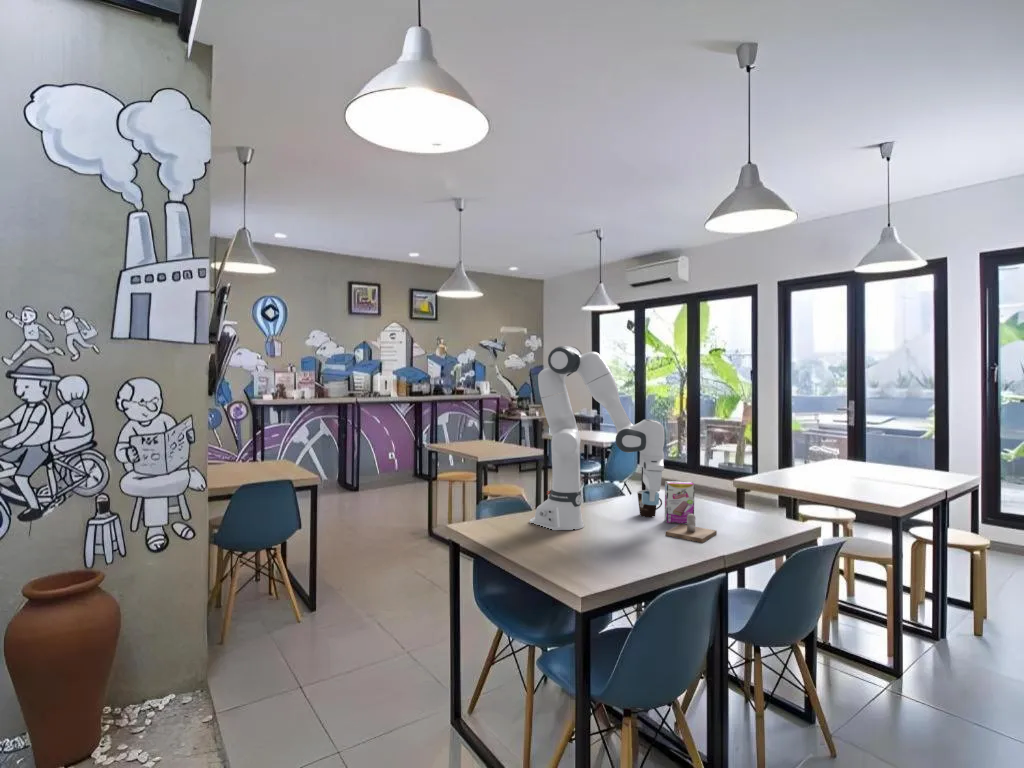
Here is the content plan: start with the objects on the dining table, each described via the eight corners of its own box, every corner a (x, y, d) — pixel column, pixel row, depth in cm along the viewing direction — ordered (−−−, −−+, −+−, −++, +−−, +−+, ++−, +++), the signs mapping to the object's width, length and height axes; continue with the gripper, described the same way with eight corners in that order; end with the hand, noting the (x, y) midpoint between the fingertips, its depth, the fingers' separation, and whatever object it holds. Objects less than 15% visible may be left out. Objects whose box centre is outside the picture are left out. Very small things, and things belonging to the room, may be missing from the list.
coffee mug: (634, 513, 235) (634, 490, 235) (653, 512, 236) (653, 490, 236) (643, 519, 223) (643, 495, 223) (663, 519, 224) (663, 495, 224)
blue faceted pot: (659, 505, 200) (659, 494, 200) (643, 504, 201) (643, 493, 201) (656, 501, 206) (657, 491, 206) (641, 500, 207) (641, 490, 206)
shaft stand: (665, 535, 201) (665, 514, 200) (680, 527, 211) (680, 507, 211) (702, 542, 191) (702, 520, 191) (716, 534, 202) (716, 513, 202)
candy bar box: (666, 523, 218) (666, 483, 218) (664, 520, 223) (664, 480, 223) (694, 524, 217) (694, 483, 217) (691, 521, 222) (692, 481, 222)
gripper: (639, 458, 214) (638, 492, 214) (646, 466, 193) (645, 504, 194) (655, 458, 213) (654, 493, 213) (664, 467, 193) (663, 505, 193)
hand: (650, 498), depth 203 cm, fingers closed on blue faceted pot, 6 cm apart
